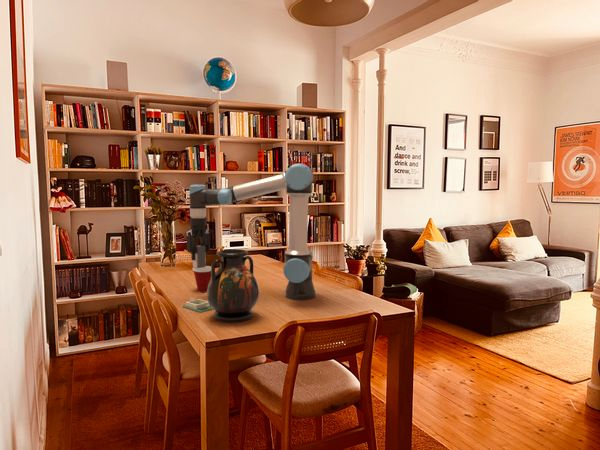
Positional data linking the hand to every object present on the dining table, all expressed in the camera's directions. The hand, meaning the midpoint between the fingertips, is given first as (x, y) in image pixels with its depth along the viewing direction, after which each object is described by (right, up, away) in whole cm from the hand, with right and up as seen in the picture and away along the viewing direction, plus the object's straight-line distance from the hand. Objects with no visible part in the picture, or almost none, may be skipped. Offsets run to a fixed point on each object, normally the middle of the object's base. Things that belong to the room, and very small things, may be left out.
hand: (199, 266), depth 212 cm
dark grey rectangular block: (0, 0, 0) cm, 0 cm away
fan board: (+3, -18, -11) cm, 21 cm away
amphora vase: (+20, -19, -25) cm, 38 cm away
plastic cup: (-3, -15, +21) cm, 26 cm away
